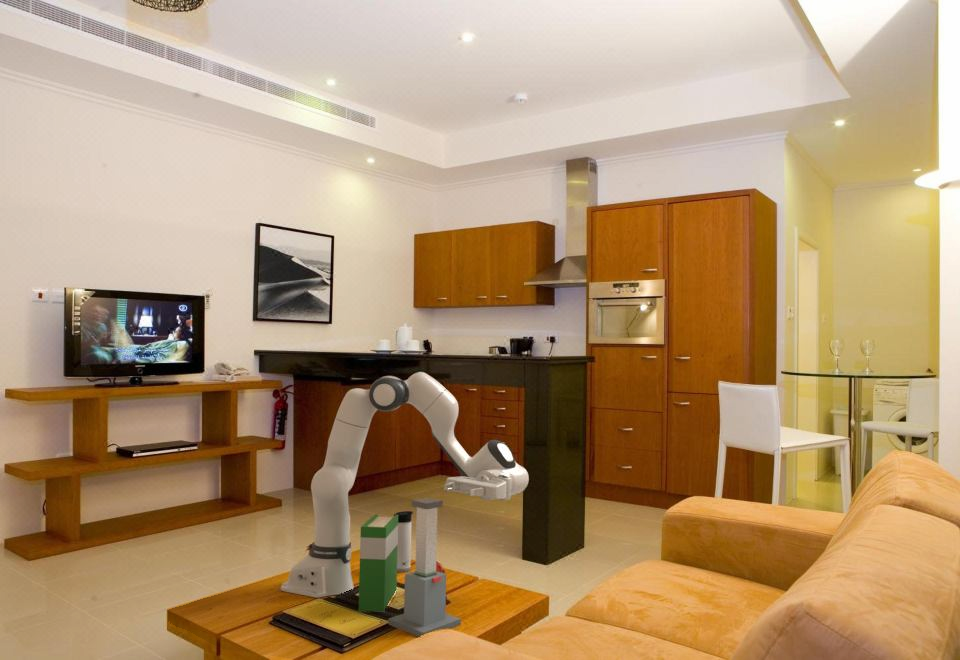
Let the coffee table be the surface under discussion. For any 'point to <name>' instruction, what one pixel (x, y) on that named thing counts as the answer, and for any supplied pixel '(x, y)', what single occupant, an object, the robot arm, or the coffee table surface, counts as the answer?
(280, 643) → the coffee table surface
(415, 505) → the steel column
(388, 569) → the hardback book
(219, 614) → the coffee table surface
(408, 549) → the travel mug
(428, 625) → the stand sleeve
